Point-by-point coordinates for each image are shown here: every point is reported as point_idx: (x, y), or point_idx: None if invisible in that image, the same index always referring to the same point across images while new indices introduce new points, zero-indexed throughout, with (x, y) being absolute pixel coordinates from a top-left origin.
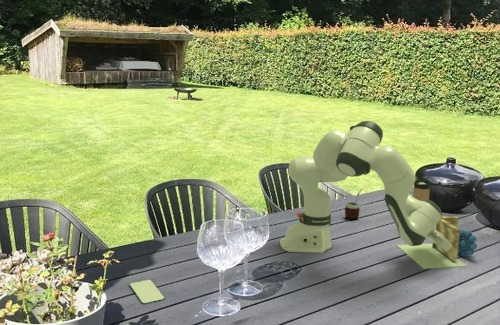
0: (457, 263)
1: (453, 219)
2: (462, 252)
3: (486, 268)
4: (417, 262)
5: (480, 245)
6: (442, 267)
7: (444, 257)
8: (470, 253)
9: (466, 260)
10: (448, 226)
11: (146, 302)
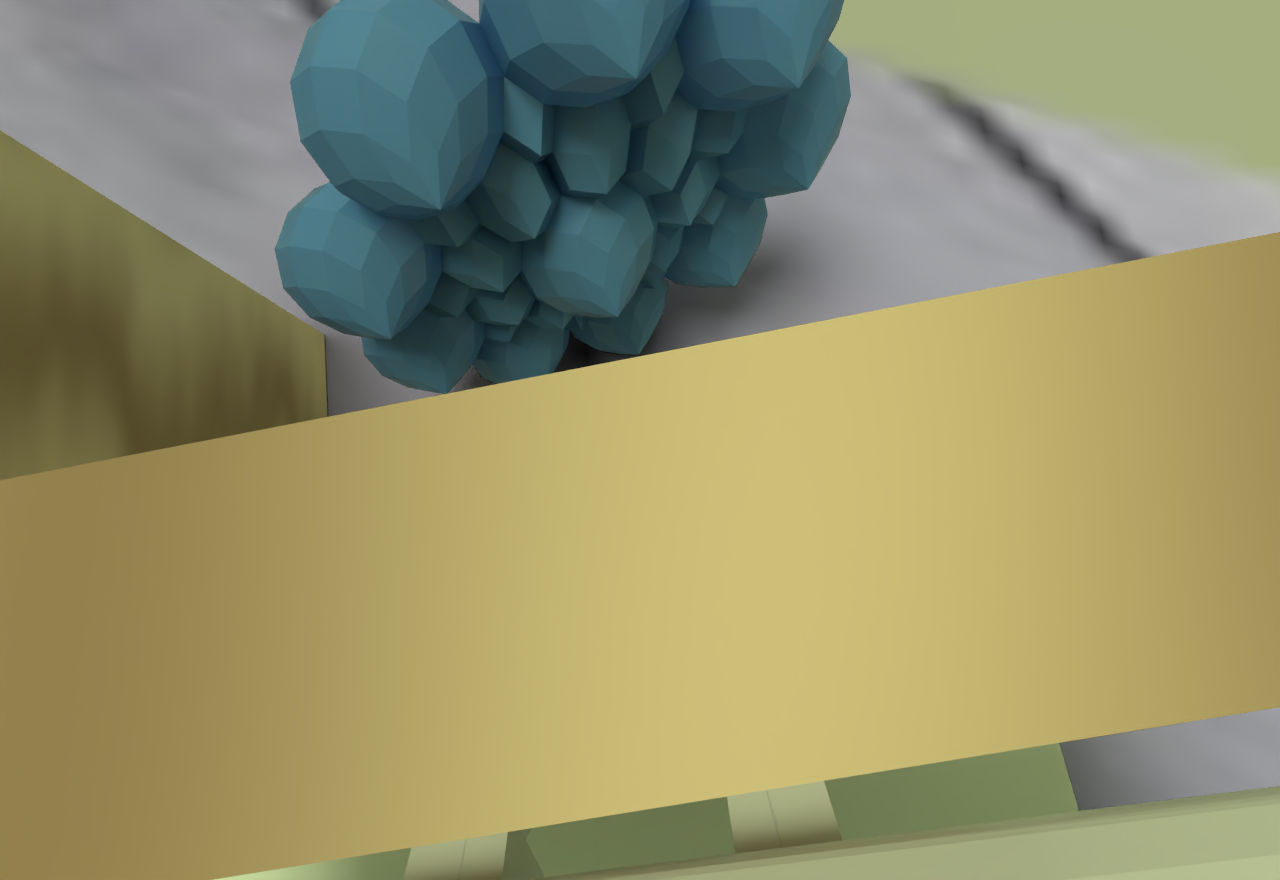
0: None
1: None
2: (626, 330)
3: (973, 184)
4: None
5: (260, 21)
6: (1071, 808)
7: None
8: (755, 244)
9: (731, 335)
10: (503, 787)
11: None
